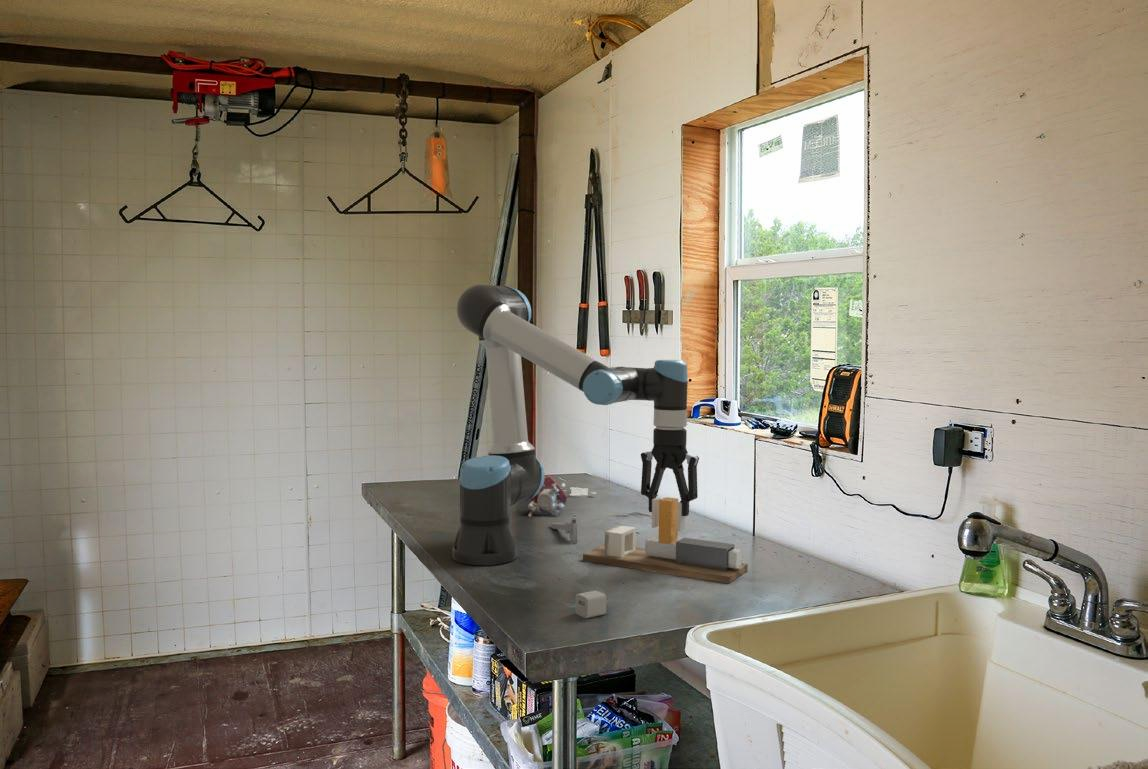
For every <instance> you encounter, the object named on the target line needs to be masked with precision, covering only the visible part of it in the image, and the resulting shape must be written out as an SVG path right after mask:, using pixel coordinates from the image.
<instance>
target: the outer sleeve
mask: <svg viewBox="0 0 1148 769" xmlns="http://www.w3.org/2000/svg"><path fill="white" fill-rule="evenodd" d="M731 548H732V549H735V544H734V543H727V542H720V541H713V540H705V539H698V538H688V537H683V538H681V539H679V540H678V541H677V542H676V564H680V565H686V566H693V567H699V568H706V569H713V570H719V571H728V570H729V569H731V568H730V567H727V551H728V550H730V549H731Z"/></svg>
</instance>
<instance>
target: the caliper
mask: <svg viewBox="0 0 1148 769" xmlns="http://www.w3.org/2000/svg"><path fill="white" fill-rule="evenodd" d="M549 527H550V528H551V529H554V530H560V531H562V530H563V531H564V533H565V534H569V540H570V542H571V543H572V544H577V543H578V524H577V519H576V518H570V522H564V523H559V522H558V523H557V522H551V523H550V525H549Z"/></svg>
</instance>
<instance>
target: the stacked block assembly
mask: <svg viewBox="0 0 1148 769" xmlns="http://www.w3.org/2000/svg"><path fill="white" fill-rule="evenodd" d="M678 502H679V498H674V497H666V496H665V497H663V498H660V500H659V526H658V538H657V537H653V536H652V537H649V538H647V539H645V541H644V549H645V555H649V556H656V557H663V558H670V559H676V542H677V541H679V540H678V538H679V535H678V532H679V531H677V524H678ZM742 552H743V551H742V549H739V548H734V549H732V548H731V549H730V550H728V551H727V567H730V568H738V567H739V566H741V563H742V561H743V560H742Z"/></svg>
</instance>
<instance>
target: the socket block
mask: <svg viewBox="0 0 1148 769" xmlns="http://www.w3.org/2000/svg"><path fill="white" fill-rule="evenodd" d="M604 544H605V555H610V556H616V557H623V556H625V555H627V554H629V553H631V552H633V551H635V550H636V548H637V546H636V544H637V527H632V526H628V525H617V526H615V527H613V528H610V529H608V530H606V531H604Z"/></svg>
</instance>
